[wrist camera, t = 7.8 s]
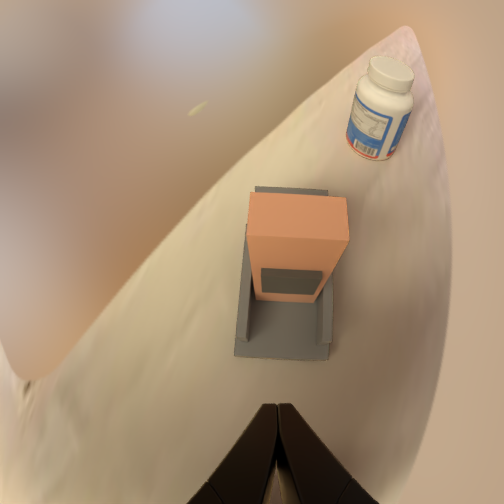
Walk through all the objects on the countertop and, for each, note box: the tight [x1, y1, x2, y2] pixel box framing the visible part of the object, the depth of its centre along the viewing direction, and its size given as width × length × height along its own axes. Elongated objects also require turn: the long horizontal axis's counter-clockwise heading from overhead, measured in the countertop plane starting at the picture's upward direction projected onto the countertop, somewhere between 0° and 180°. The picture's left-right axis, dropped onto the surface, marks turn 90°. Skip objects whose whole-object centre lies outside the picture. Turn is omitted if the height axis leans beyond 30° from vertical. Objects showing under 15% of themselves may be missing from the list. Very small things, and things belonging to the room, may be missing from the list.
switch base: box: [234, 186, 333, 361], centre depth 19 cm, size 10×6×6 cm, turn 175°
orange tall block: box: [246, 192, 349, 303], centre depth 16 cm, size 2×4×10 cm, turn 85°
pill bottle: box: [346, 56, 415, 161], centre depth 23 cm, size 6×5×10 cm
